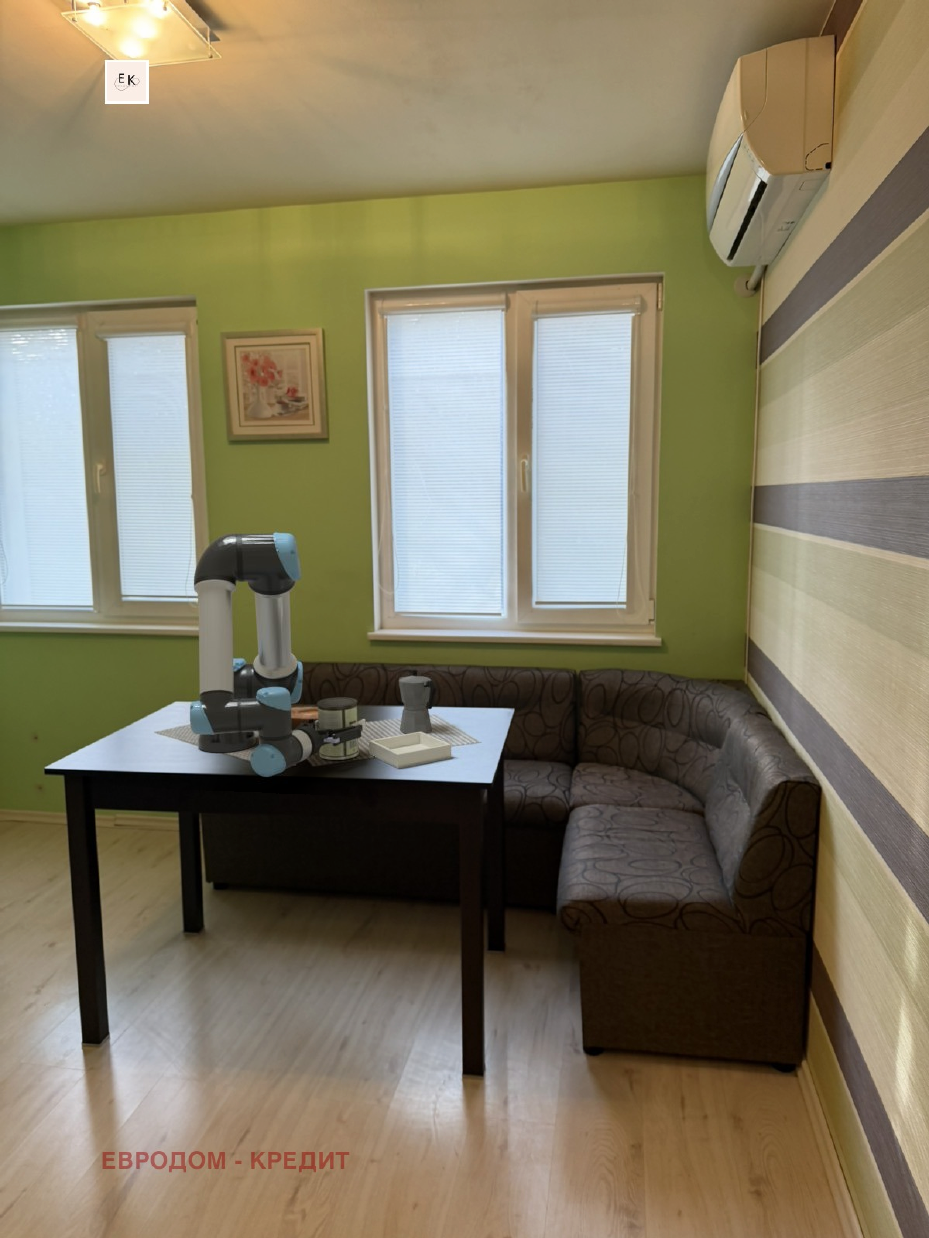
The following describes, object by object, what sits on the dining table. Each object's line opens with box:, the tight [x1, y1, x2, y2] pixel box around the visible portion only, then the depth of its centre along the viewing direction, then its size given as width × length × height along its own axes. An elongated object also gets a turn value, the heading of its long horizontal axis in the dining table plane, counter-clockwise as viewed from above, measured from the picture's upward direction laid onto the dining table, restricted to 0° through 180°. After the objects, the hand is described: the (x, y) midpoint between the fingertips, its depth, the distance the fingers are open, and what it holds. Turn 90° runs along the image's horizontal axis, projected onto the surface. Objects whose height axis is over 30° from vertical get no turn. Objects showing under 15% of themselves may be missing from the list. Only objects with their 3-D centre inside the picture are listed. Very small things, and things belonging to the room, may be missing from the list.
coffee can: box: [316, 696, 360, 761], centre depth 221 cm, size 10×10×14 cm
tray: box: [368, 732, 452, 770], centre depth 220 cm, size 16×16×4 cm
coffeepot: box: [398, 668, 437, 735], centre depth 244 cm, size 15×9×18 cm, turn 43°
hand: (346, 722), depth 224 cm, fingers closed on coffee can, 10 cm apart
